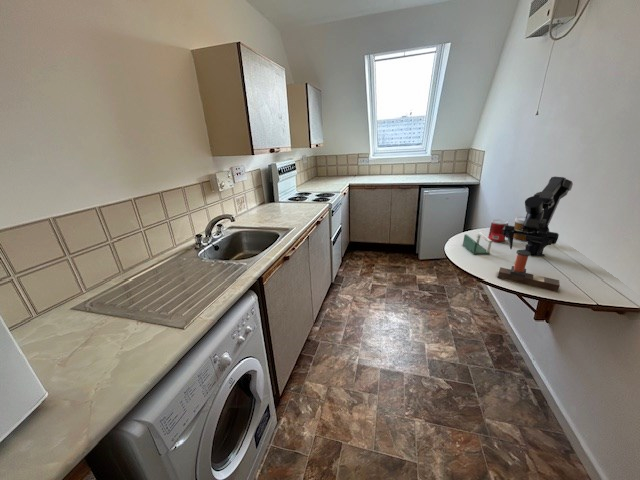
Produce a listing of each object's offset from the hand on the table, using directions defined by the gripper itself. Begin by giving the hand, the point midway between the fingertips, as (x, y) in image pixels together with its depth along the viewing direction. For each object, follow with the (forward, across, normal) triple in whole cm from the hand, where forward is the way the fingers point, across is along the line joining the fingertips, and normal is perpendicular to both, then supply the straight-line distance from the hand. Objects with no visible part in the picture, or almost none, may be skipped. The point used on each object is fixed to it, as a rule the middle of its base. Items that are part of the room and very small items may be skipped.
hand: (523, 251), depth 112 cm
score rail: (+11, +4, +5) cm, 13 cm away
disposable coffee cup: (-27, -4, +43) cm, 51 cm away
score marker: (+9, 0, +3) cm, 10 cm away
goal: (-5, -20, +21) cm, 30 cm away
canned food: (-20, -14, +36) cm, 44 cm away
